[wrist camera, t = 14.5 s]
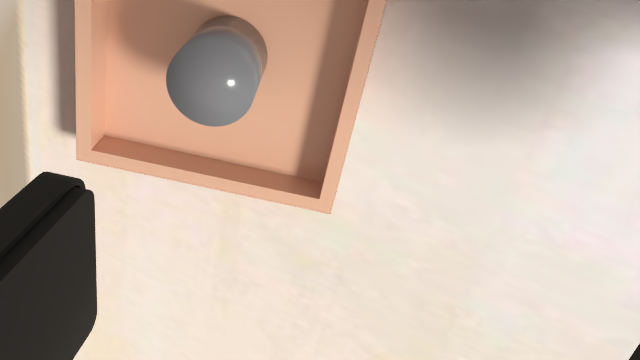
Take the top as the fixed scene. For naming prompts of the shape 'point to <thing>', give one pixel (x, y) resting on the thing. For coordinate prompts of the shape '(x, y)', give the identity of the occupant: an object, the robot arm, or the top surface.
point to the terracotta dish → (262, 117)
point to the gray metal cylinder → (217, 71)
